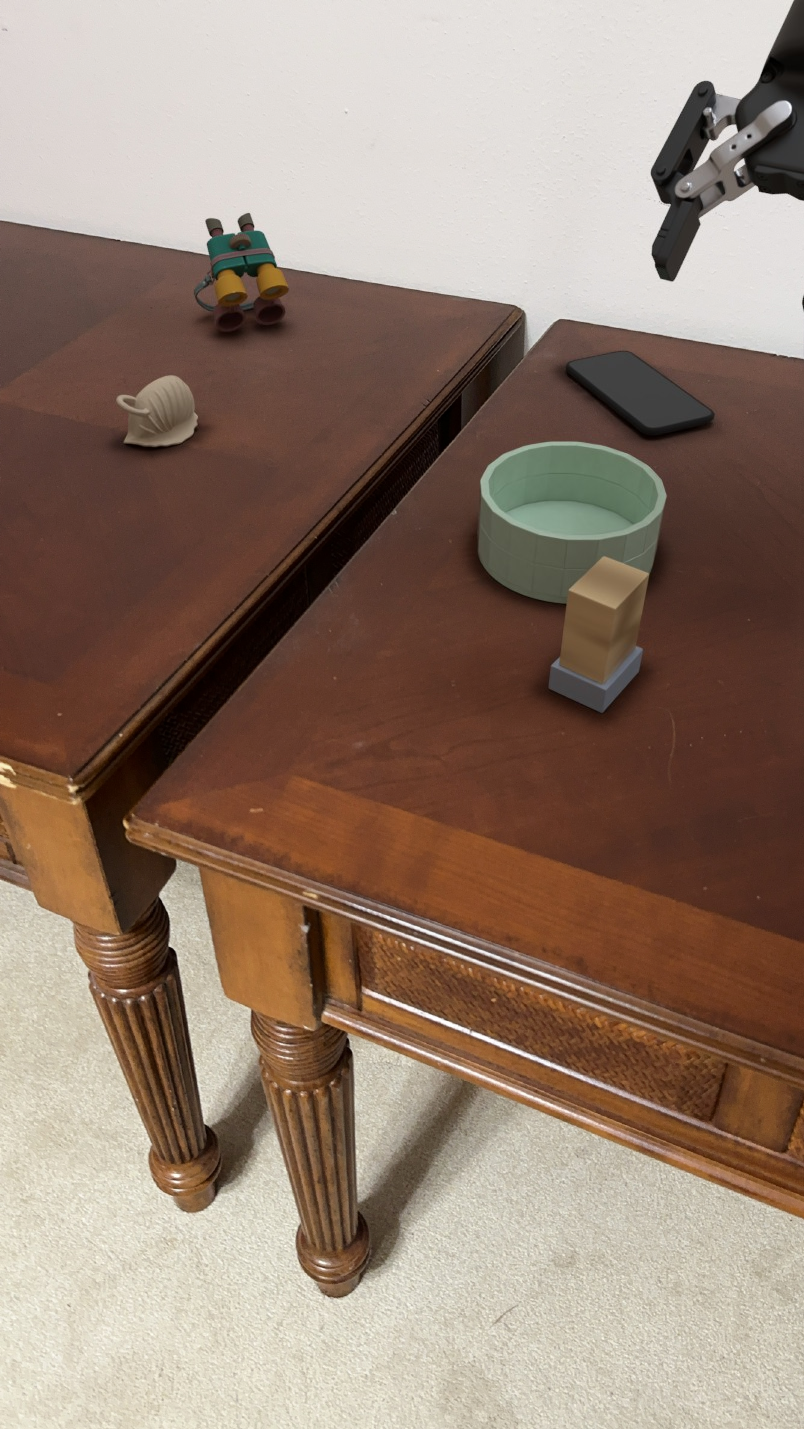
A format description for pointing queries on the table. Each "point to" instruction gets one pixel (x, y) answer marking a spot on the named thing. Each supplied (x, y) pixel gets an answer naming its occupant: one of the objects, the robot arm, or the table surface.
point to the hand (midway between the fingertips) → (734, 291)
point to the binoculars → (230, 265)
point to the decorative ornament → (160, 413)
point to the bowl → (566, 515)
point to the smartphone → (639, 393)
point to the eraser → (600, 634)
